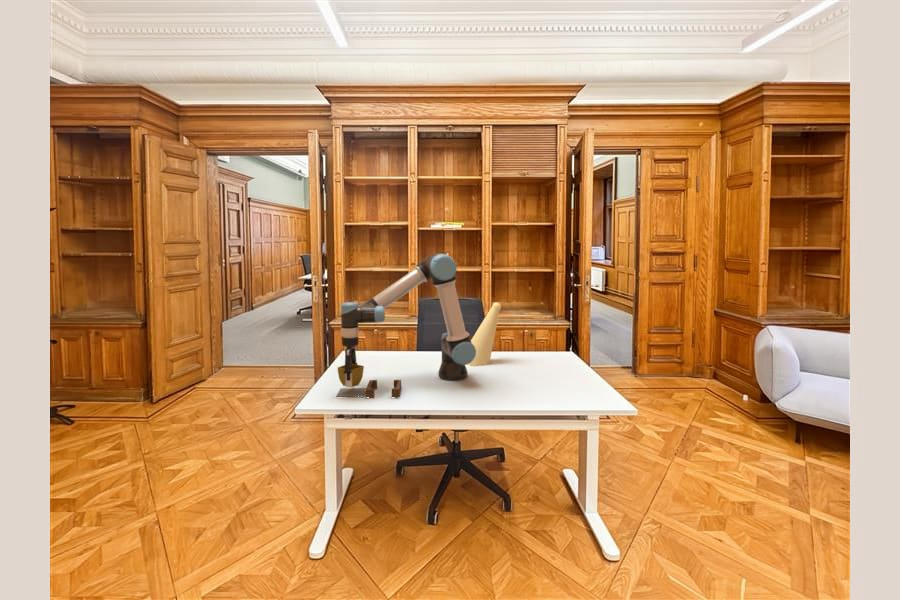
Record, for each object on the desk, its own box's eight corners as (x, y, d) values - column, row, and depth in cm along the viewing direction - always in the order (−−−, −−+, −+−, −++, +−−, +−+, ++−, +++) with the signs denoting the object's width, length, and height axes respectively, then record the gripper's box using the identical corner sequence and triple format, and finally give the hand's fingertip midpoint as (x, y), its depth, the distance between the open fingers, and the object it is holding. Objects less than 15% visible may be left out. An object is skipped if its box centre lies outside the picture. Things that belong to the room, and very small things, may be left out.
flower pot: (364, 384, 231) (364, 365, 230) (351, 389, 224) (351, 370, 223) (350, 381, 236) (349, 363, 234) (337, 386, 228) (336, 367, 227)
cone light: (455, 365, 280) (455, 303, 276) (460, 357, 298) (460, 299, 294) (498, 367, 276) (499, 304, 272) (501, 359, 294) (502, 300, 289)
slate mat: (366, 389, 236) (366, 388, 236) (362, 397, 224) (362, 396, 224) (340, 389, 236) (340, 388, 236) (335, 397, 224) (335, 396, 224)
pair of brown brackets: (401, 387, 238) (401, 379, 238) (399, 397, 224) (399, 389, 223) (369, 388, 238) (369, 380, 237) (365, 398, 223) (365, 389, 222)
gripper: (346, 331, 238) (347, 376, 241) (336, 341, 215) (338, 391, 218) (361, 331, 239) (362, 375, 241) (354, 341, 215) (355, 390, 218)
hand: (351, 383), depth 230 cm, fingers closed on flower pot, 11 cm apart
